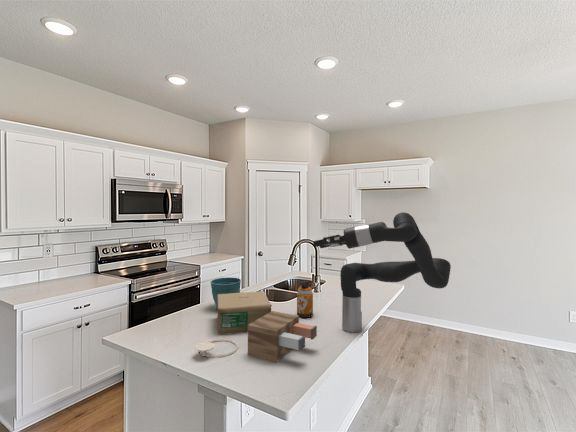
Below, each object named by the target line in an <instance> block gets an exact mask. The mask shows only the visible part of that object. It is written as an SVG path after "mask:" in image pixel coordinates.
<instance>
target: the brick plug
mask: <svg viewBox="0 0 576 432" xmlns="http://www.w3.org/2000/svg"><path fill="white" fill-rule="evenodd" d="M317 328H318V327H317V325H311V324H306V323H300V322H299V323H294V324H293V325H292V334H295V335H299V336H305V339H310V340H314V339H315V338H316V337H317V336H318V333H317V332H318V331H317V330H318V329H317Z"/></svg>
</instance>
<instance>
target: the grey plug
mask: <svg viewBox="0 0 576 432" xmlns="http://www.w3.org/2000/svg"><path fill="white" fill-rule="evenodd" d="M279 346H283V347H288V348H292V349H293V350H297V351H298V352H301V351H302V350H304V348H306V337H305V336H299V335H295V334H290V333H285V332H282V333H281V334H279ZM292 349H291V350H292Z"/></svg>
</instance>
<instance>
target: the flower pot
mask: <svg viewBox="0 0 576 432" xmlns="http://www.w3.org/2000/svg"><path fill="white" fill-rule="evenodd" d="M241 282H242V279H241V278H238V277H233V276H232V277H231V276H230V277H219V278H214V279H211V281H210V288H211V295H212V298H213V299H212V300H213V301H214V305H215V308H216V311H218V298H217V295H218V294H230V293H241Z"/></svg>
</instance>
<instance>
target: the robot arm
mask: <svg viewBox="0 0 576 432" xmlns="http://www.w3.org/2000/svg"><path fill="white" fill-rule="evenodd" d="M392 222H393V223H392V224H393V227H389V226H387V224H386V223H385V222H384V221H378V222H374V223H370V224H363V225H362V224H361V225H357V226H352V227H347V228H344V229H343V235H340V234H336V235H330V236H325V237H322V239H318V240H313V242H312V243H313V247H315V248H316V247H319V248H320V249H325V248H336V247H341V246H344V245H345V246H346V247H347V249H355V248H360V247H364V246H365V247H366V246H368V245H372V244H375V243H376V244H377V243H381V242H396V243H399V242H401V243H404V245H405V247H406V249H407V250H408V252H409V253H410V254H411V255H412V257H413V259H414V260H405V261H403V260H402V261H401V260H400V261H381V262H375V263H361V262H353V263H352V262H351V263H346V264H344V265H343V266H342V267H341V268H340V289H341V291H342V297H341V298H342V299H341V301H342V303H341V304H342V309H341V310H342V311H341V312H342V317H341V319H342V321H341V324H342V325H341V327H342V330H343V331H345V332H348V333H358V332H362V331H363V328H362V327H363V311H362V290H361V289H360V288H357V282H359V281H363V280H377V281H379V282H384V283H399V282H403V281H405V280H407V279H408V278H411V277H412V276H414V275H416V274H419V273H421V277H422V280H423V282H424V283H425V284H426V285H427V286H429V287H431V288H433V289H444V288H446V287H447V286H448V283H449V281H450V275H451V268H452V267H451V266H452V265H451V263H450V262H449V261H448V260H446V259H444V258H440V257H439V258H438V257H433V255H432V249H431V247H430V245H429V243H428V241H427V240H426V238H425V237H424V235H423V234H422V233H421V231H420V229H419V227H418V225H417V223H416V220H415V218H414V217H413V216H412V215H411V214H410V213H408V212H398V213H397V214H396V215H394V217H393V221H392Z"/></svg>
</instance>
